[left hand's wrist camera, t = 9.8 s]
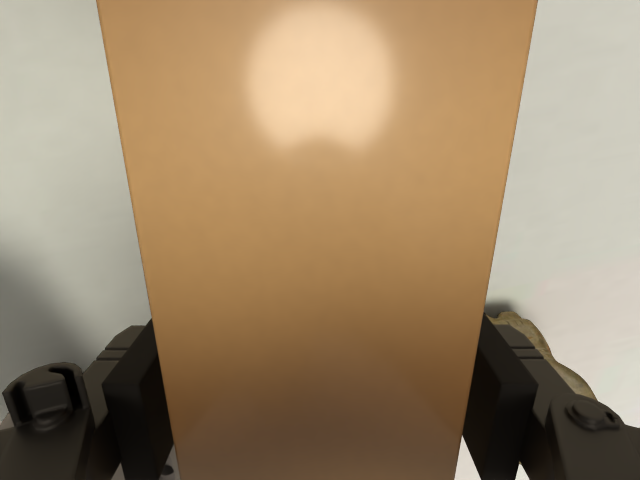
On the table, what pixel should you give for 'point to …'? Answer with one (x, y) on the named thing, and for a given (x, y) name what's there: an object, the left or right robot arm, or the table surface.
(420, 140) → the bar
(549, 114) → the table surface
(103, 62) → the table surface
